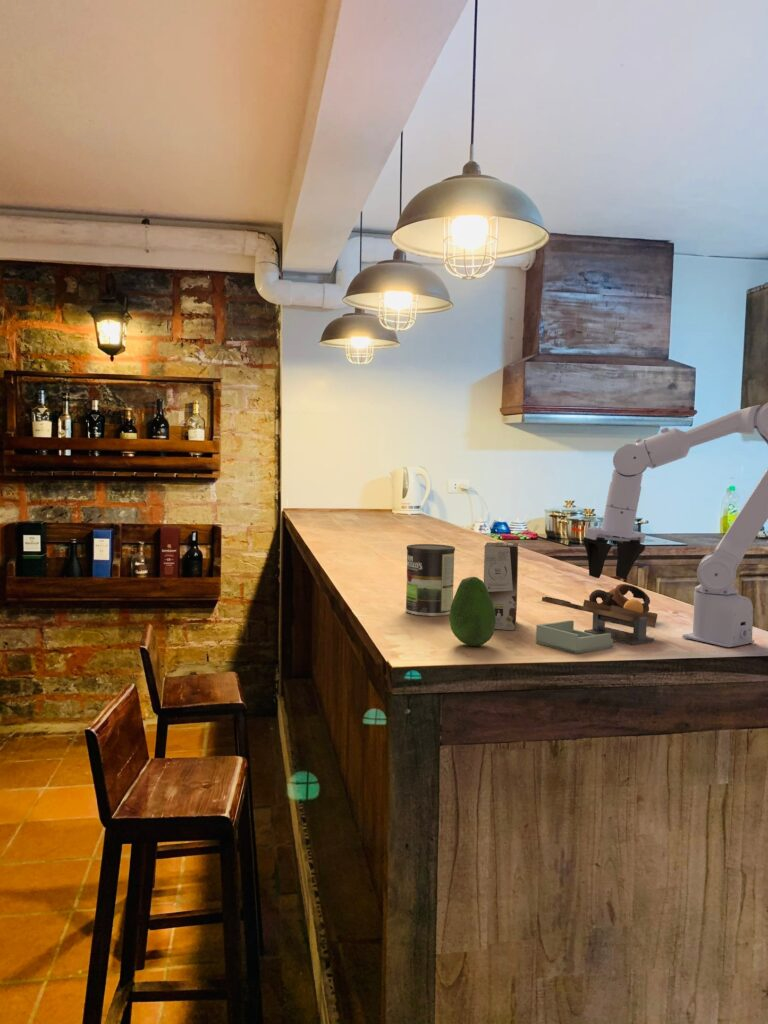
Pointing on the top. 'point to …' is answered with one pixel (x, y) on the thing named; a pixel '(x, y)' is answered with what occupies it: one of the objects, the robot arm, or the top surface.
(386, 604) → the top surface
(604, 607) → the lever
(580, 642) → the dish
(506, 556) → the coffee box
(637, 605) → the ball
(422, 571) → the coffee can
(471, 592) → the avocado
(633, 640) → the fulcrum
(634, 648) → the top surface
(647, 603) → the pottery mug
